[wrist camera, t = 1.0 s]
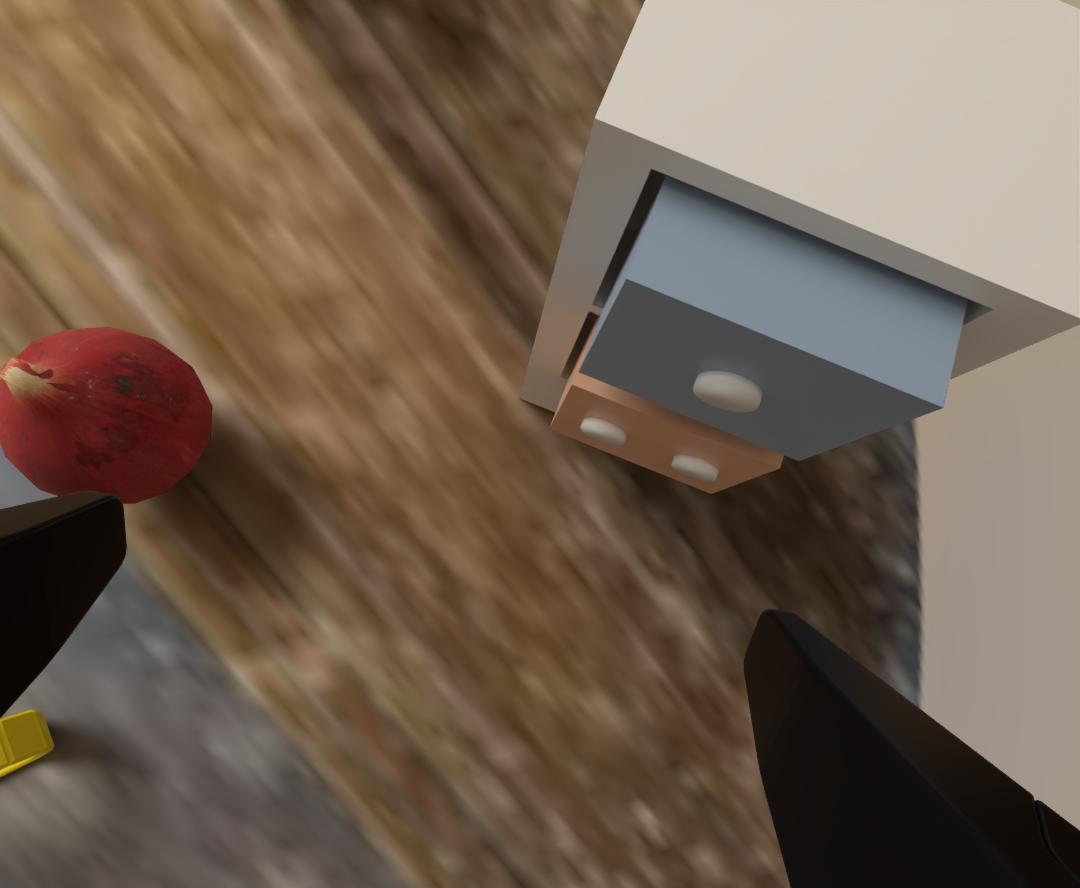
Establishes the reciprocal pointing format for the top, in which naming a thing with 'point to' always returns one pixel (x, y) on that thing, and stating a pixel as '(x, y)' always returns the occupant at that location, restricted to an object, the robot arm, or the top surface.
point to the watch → (23, 740)
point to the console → (845, 152)
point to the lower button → (656, 435)
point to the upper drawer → (770, 328)
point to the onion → (102, 414)
